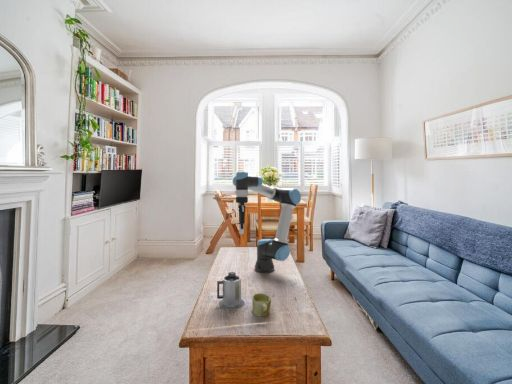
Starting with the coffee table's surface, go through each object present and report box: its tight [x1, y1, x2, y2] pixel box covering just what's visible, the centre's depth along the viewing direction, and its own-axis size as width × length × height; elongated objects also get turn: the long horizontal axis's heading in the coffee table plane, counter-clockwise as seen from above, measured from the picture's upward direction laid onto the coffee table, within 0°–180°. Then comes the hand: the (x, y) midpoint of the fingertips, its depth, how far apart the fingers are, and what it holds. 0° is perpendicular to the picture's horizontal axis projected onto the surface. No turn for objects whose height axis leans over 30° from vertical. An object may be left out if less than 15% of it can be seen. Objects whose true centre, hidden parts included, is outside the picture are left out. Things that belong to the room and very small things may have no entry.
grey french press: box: [216, 274, 242, 308], centre depth 137 cm, size 13×10×14 cm
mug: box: [251, 292, 272, 317], centre depth 127 cm, size 12×10×10 cm
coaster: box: [218, 298, 245, 311], centre depth 137 cm, size 14×14×1 cm
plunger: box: [227, 271, 237, 281], centre depth 137 cm, size 7×7×13 cm
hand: (241, 233), depth 158 cm, fingers closed
